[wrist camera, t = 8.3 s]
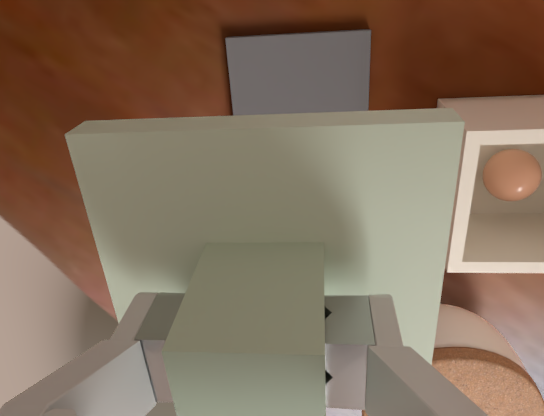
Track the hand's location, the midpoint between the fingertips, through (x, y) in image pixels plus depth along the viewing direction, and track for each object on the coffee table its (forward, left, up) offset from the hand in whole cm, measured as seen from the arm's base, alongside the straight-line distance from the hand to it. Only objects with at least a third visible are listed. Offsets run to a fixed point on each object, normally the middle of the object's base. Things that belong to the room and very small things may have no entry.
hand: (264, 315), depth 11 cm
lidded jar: (-9, +18, -19) cm, 28 cm away
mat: (0, 0, -19) cm, 19 cm away
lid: (0, 0, -2) cm, 2 cm away
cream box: (-12, +4, -19) cm, 23 cm away
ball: (-12, +4, -17) cm, 21 cm away
